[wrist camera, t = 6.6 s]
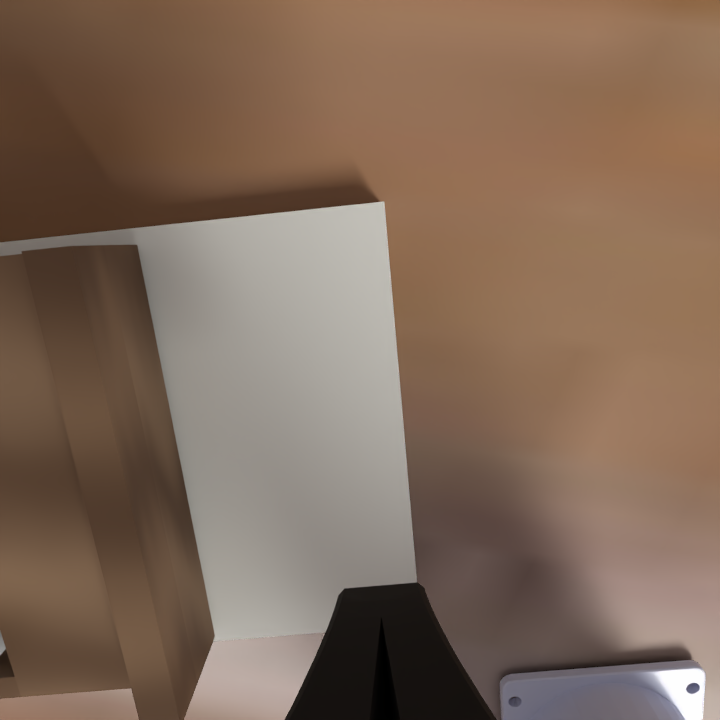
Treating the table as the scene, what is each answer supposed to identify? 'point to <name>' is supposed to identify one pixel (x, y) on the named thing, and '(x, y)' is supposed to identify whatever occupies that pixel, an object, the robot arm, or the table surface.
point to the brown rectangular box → (92, 490)
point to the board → (280, 406)
